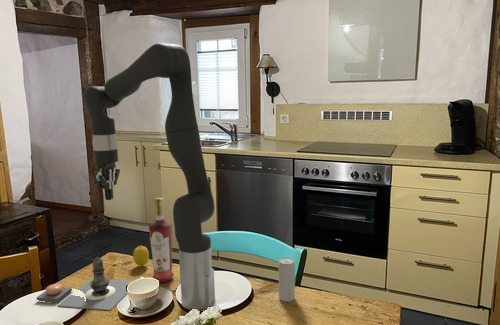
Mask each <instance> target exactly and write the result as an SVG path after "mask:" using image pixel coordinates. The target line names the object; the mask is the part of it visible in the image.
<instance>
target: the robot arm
mask: <svg viewBox="0 0 500 325" xmlns="http://www.w3.org/2000/svg"><path fill="white" fill-rule="evenodd" d="M191 67H192V66H191V61H190V57H189V54H188V52H187V50H186V48H185V47H183V46H182V45H180V44H174V43H173V44H172V43H165V42H158V43H155V44H153V45H151V46H150V47H148V48H147V49H146V50H145V51H144V52H143V53H142V54H141V55H140V56H139V57H138V58H137V59H136V60H135V61H134V62H132V64H130V65H128V67H127V68H126V69H124V70H122V71H121V72H119V73H118V74H116V75H114V76H112V77H111V78H109V79H108V80H107V81H106V82H105V83H104V86H101V85H100V86H98V85H97V86H95V85H93V86H92V85H91V86H88V87H87V88H86V89H85V91H84V93H83V102H84V105H85V108H86V110H87V113H88V116H89V119H90V121H91V129H92V150H93V162H94V163H95V164H97V174H94V175H93V179H94V180H95V182H96V184H97V185H98V187H99V188H100V189H103V190H104V199H105V200H106V201H111V200H113V199H114V188H115V186H116V185H117V184H118V183H117V182H118V181H119V180H118V179H119V176H120V172H121V170H120V169H119V168H117V164H116V163H117V162H119V152H118V139H117V135H116V123H115V119H114V118H115V117H113V116H111V115H106V114H105V113H104V111H103V109H112V108H115V107H117V106H118V105H120V103H121V102H122V101H123V100H124V99H126V98H128V97H129V96H131V95H133V94H135V93H136V92H137V91H138V90H139V89H140V87H141V85H142V84H143V83H144V82H145V81H148V80H151V79H155V78H162V79H169V83H170V84H169V85H170V91H171V101H170V105H169V108H168V111H167V115H166V118H165V122H164V123H165V124H164V130H165V137H166V141H167V146H168V147H167V148H168V151H169V153H170V155H171V156H172V158H173V159H174V161H175V162H176V163H177V165H178V167H179V168H180V169H181V171H182V172H183V175H184V178H185V181H186V186H187V192H188V193H187V194H184V195H181V196H178V198H177V199H176V200H175V202H174V204H173V208H172V209H173V210H172V215H173V227H174V234H175V235H174V237H175V239H176V241H177V244H178V253H179V254H178V255H179V259H178V261H179V274H180V275H179V277H180V294H181V297H180V299H181V300H180V301H181V306H182V307H183V308H185V309H186V310H189V311H192V310H191V309H197V310H196V311H199V310H204V309H209V308H208V307H210V306H211V307H212V305H213V303H214V301H215V300H216V294H215V292H216V291H215V289H216V288H215V270H214V269H215V268H212V267H213V266H212V265H213V264H212V240H211V236H209V234H206V233H203V232H202V231H203V230H202V223H205V222H207V221H208V220H210V219H211V218H212V217H213V215H214V212H215V201H214V197H213V192H212V189H211V185H210V183H209V182H210V181H209V178H208V175H207V171H206V166H205V161H204V155H203V150H202V144H201V137H200V130H199V124H198V121H197V115H196V109H195V107H196V106H195V102H194V94H193V84H192V68H191ZM211 307H210V308H211Z"/></svg>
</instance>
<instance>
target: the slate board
mask: <svg viewBox="0 0 500 325" xmlns="http://www.w3.org/2000/svg"><path fill="white" fill-rule="evenodd" d="M108 279H109V278H108ZM92 280H94V277H93V278H90V279H89V280H88V281H86V282H85V283H84V284H83V285H81V286H80V287H78V289H77V290H80V291H82V292H83V293H84V294H85V297H86V301H84V300H85V299H84V297H82V298H81V297H80V296H75V295H74V296H73V295H71V294H69V295H68V296H67V297H66V298H64V299H63V300H62V301H61V302H59V303H58V305H57V307H58V308H59V307H60V308H71V309H72V308H73V309H82V310H83V309H84V310H94V311H95V310H97V311H107V312H109V311H112V310H113V309H114V308H115V307H116V306H117V305H118V304H119V303H120V302H121V301H122V300H123V299H124V298H125V297H126V295H128V294H127V293H126V286H127V285H128V284H129V283H130V282H132V281H133V280H123V279H122V280H121V279H109V280H110V281H109V284H108V287H107V289H109V293H108V294H106V295H104V296H99V297H95V296H92V292H93V291H94V290H93V289H92V288H91V286H90V284H89V283H90V282H91V281H92ZM124 296H125V297H124ZM123 297H124V298H123Z"/></svg>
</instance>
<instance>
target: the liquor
mask: <svg viewBox="0 0 500 325" xmlns="http://www.w3.org/2000/svg"><path fill="white" fill-rule="evenodd" d="M154 206H155V217H154V218H155V220H154V221H153V222H151V224H150V225H149V226H148V231H149V241H150V248H151V255H152V256H151V257H152V264H153V265H152V266H153V275H152V279H153V278H155V279H157V280H159V282H158V283H160V284H161V283H163V284H164V283H167V282H169V281H170V280H171V279H172V278H173V277H174V275H175V274H174V272H173V255H172V254H173V251H172V250H173V249H172V248H173V233H172V232H173V230H172V229H173V227H172V226H173V224H172V223H170V222H169V221H168V220H165V215H164V214H165V213H164V198H163V197H155V198H154Z"/></svg>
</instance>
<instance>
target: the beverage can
mask: <svg viewBox="0 0 500 325" xmlns="http://www.w3.org/2000/svg"><path fill="white" fill-rule="evenodd" d="M295 266H296V262H295V259H293V258H291V257H282V258H279V259H278V299H279V300H280V301H282V302H284V303H290V302H293V301H294V299H295V297H296V295H295V293H296V292H295V291H296V288H295V287H296V286H295V285H296V284H295V283H296V278H295V277H296V267H295Z"/></svg>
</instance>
